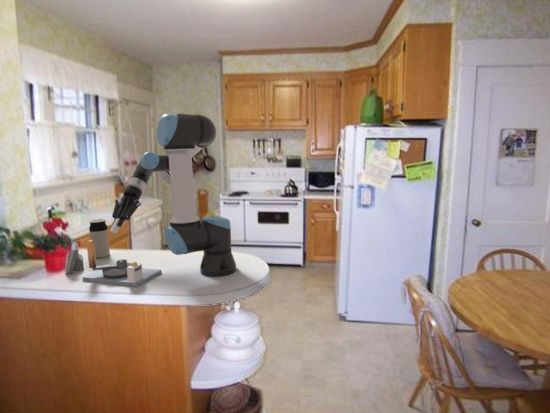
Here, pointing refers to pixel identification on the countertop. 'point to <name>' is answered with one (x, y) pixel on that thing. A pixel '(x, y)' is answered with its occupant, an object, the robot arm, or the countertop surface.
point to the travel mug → (99, 237)
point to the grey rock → (74, 260)
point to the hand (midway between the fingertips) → (113, 232)
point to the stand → (134, 277)
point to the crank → (108, 270)
